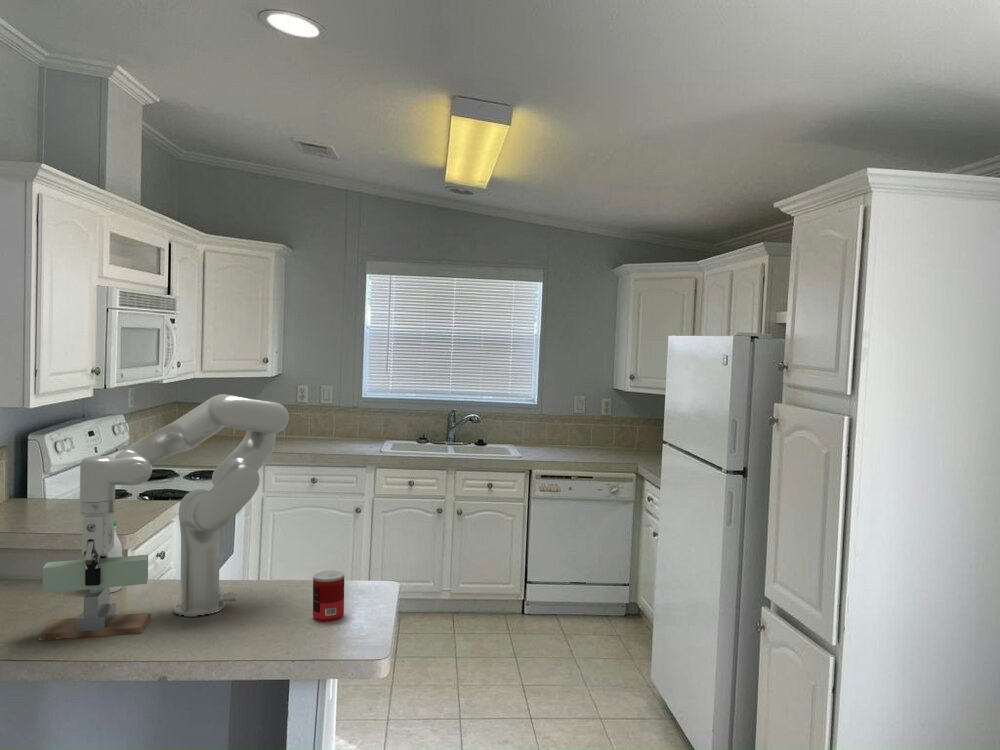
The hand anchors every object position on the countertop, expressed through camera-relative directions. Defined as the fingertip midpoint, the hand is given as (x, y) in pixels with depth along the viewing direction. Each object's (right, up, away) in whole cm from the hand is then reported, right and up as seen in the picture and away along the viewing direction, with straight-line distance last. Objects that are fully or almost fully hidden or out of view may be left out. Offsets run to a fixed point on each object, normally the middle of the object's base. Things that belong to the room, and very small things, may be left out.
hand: (96, 580), depth 175 cm
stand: (0, -12, 0) cm, 12 cm away
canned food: (+54, -13, +11) cm, 56 cm away
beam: (0, -1, 0) cm, 1 cm away
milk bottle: (-14, -11, +30) cm, 35 cm away
